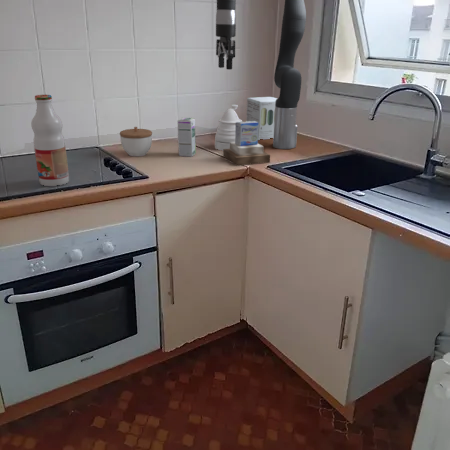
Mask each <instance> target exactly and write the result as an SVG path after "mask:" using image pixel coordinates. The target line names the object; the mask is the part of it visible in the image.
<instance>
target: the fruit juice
mask: <svg viewBox="0 0 450 450" xmlns="http://www.w3.org/2000/svg"><path fill="white" fill-rule="evenodd" d="M34 100H35V102H36V110H35V115H34V116H33V118H32V119H31V129H32V132H33V135H34V136H33V148H34V154H35V161H36V169H37V175H38V181H39V184H40V185H41V186H43V185H44V187H57V186H56V185H60V186H63V185H62V184H64V185H66V183H67V184H68V183H69V182H70V174H69V173H70V172H69V166H68V157H67V149H66V142H65V137H64V135H63V132H62V130H63V121H62V119H61V118H60V117H59V116H58V115H57V113H56V112H55V110H54V108H53V105H52V104H53V103H52V101H53V97H52V95H50V94H36V95H34Z"/></svg>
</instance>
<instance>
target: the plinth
mask: <svg viewBox="0 0 450 450" xmlns="http://www.w3.org/2000/svg"><path fill="white" fill-rule="evenodd" d="M264 149H265V147H264V145H262V144H260V143H258V144H256V145H247V146H239V145H237V144H235V142H230V149H223V151H222V152H223V153H222V155H223V156H222V157H224V158H225V159H226V160H228V161H229V162H230V163H232V164H234V165H235V166H247V165H257V164H267V163H268V164H269V163H271V154H269V153H267V152H266V151H264Z"/></svg>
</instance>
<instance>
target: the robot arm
mask: <svg viewBox="0 0 450 450" xmlns="http://www.w3.org/2000/svg"><path fill="white" fill-rule="evenodd" d="M236 1H237V0H216V12H215V13H216V15H215V36H216V37H217V38H218V37H219V39H216V40H215V41H216V42H215V43H216V44H215V46H216V47H215V55H216V56H217V58H218V68H220V69H223V68H226V70H232V69H233V59H234V58H235V57H236V40H234V39H233V40H232V38H235V37H236V31H237V30H236V29H237V27H236V26H237V25H236V24H237V15H236V4H237V3H236ZM306 22H307V10H306V4H305V0H284V8H283V15H282V21H281V32H280V40H279V47H278V48H279V50H278V57H277V60H276V65H275V70H274V75H273V80H274V85H275V86H276V87H277V88H278V89H279V96H278V99H277V100H276V102H275V120H274V137H273V139H272V147H273V148H276V149H279V150H280V149H281V150H291V149H294V148H296V147H297V139H298V138H297V137H298V127H299V126H298V125H297V124H296V123H297V114H298V113H297V112H298V103H299V101H300V97H301V89H302V74H301V72H300V71H299V69H298V68H296V67H294V66H295V57H296V54H297V53H296V52H297V50H298V48H299V46H300V44H301V42H302V40H303V37H304V34H305V28H306ZM225 59H226V62H225ZM225 63H226V64H225ZM225 65H226V66H225Z"/></svg>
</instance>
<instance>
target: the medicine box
mask: <svg viewBox="0 0 450 450" xmlns="http://www.w3.org/2000/svg"><path fill="white" fill-rule="evenodd" d="M258 125H259V123H258V122H256V121H246V120H245V121H242V122H236V130H235V144H237V145H239V146H247V145H256V144H259V142H258V141H259V140H258Z"/></svg>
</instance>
